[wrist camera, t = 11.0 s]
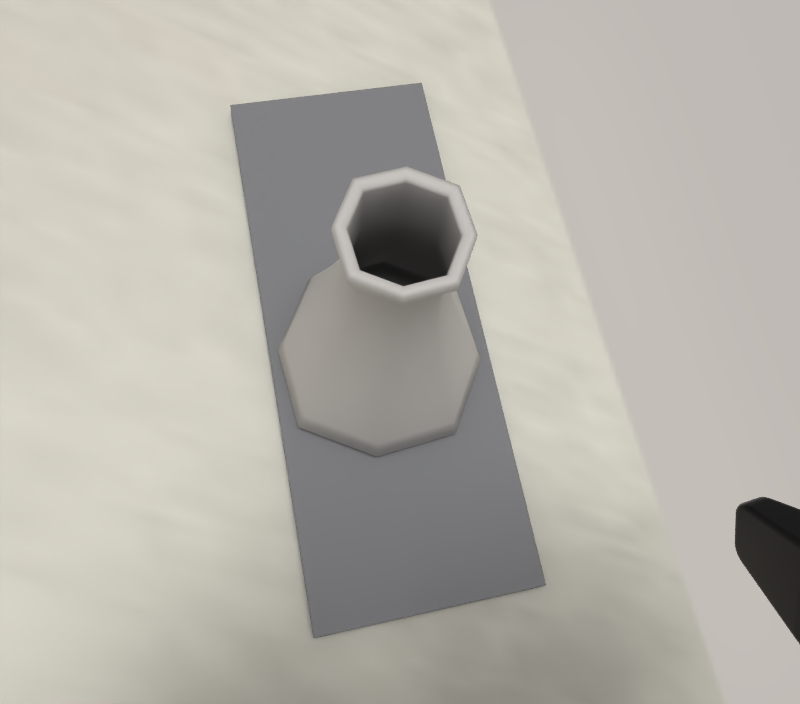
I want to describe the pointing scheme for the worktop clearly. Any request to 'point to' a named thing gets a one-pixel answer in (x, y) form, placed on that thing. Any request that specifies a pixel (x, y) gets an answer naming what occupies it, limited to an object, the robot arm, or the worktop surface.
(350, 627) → the charcoal mat
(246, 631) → the worktop surface
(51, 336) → the worktop surface
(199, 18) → the worktop surface
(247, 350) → the worktop surface
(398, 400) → the flask
